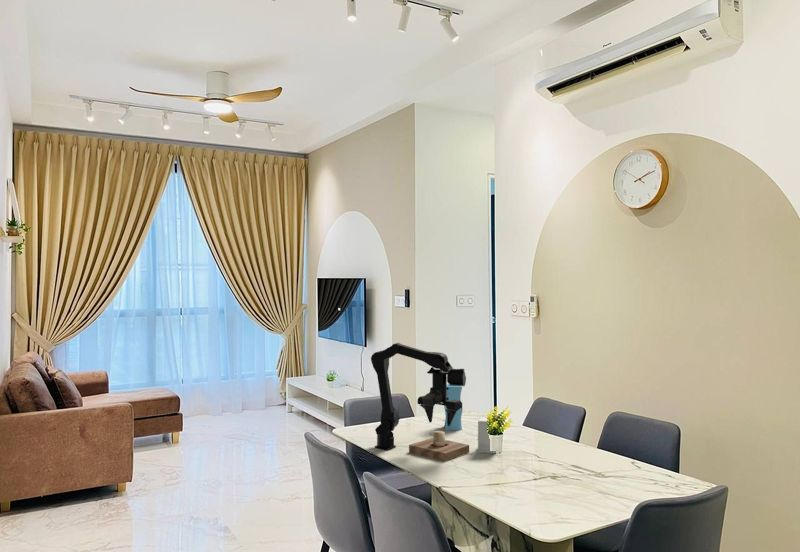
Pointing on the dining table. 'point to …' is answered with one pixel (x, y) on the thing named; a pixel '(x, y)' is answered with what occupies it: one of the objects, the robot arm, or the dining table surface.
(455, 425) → the vase
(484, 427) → the supplement box
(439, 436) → the beech peg
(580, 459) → the dining table surface
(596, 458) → the dining table surface
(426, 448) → the walnut board
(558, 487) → the dining table surface
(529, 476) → the dining table surface
